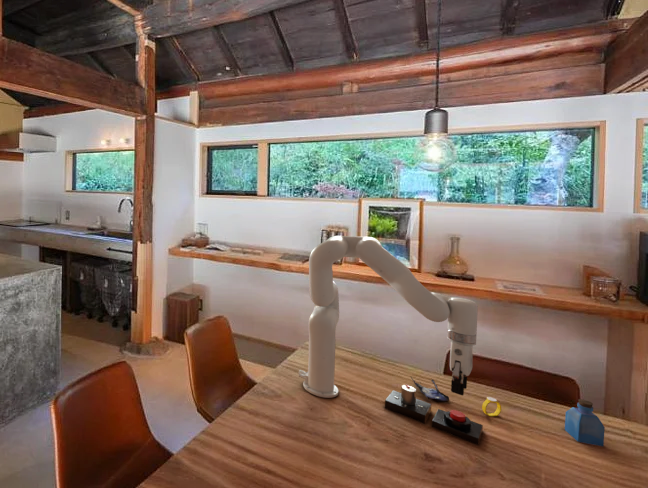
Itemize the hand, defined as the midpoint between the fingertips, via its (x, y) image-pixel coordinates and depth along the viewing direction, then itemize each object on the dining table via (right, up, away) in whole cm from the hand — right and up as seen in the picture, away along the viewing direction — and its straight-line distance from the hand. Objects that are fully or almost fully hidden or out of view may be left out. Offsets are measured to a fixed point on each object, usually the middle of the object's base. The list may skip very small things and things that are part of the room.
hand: (458, 389), depth 129 cm
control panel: (-10, -13, +11) cm, 19 cm away
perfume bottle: (+39, -15, -3) cm, 41 cm away
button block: (0, -13, 0) cm, 13 cm away
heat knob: (-10, -10, +11) cm, 17 cm away
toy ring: (+18, -14, +8) cm, 24 cm away
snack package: (+5, -13, +21) cm, 25 cm away
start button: (0, -10, 0) cm, 10 cm away
